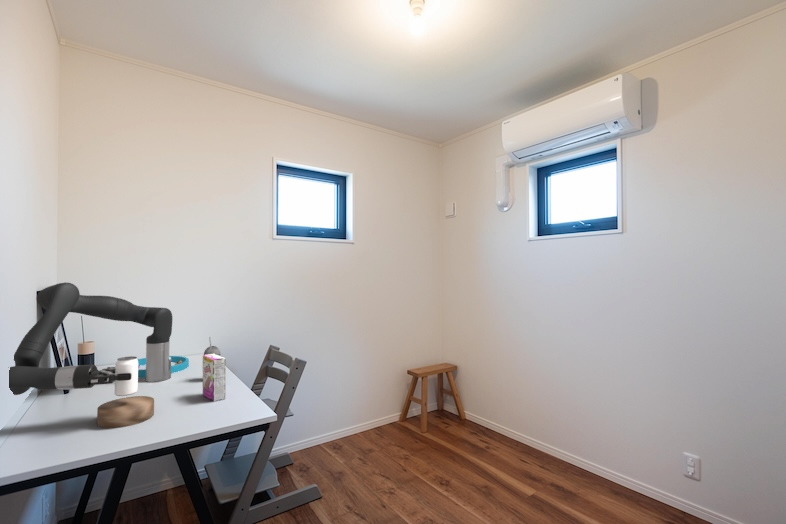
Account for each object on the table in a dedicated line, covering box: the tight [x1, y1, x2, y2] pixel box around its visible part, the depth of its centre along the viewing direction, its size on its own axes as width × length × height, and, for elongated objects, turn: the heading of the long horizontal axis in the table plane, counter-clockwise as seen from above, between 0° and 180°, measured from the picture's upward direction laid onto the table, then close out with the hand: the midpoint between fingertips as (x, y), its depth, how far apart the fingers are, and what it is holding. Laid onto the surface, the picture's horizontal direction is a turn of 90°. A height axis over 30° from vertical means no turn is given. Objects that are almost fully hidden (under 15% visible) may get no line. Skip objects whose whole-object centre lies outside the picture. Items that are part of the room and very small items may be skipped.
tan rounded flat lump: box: [96, 395, 155, 429], centre depth 132 cm, size 16×16×5 cm
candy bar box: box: [202, 354, 226, 402], centre depth 154 cm, size 11×5×16 cm, turn 47°
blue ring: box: [137, 355, 190, 378], centre depth 197 cm, size 30×30×6 cm
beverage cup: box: [203, 336, 221, 356], centre depth 178 cm, size 7×7×20 cm
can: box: [114, 356, 139, 397], centre depth 132 cm, size 6×6×12 cm
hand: (134, 373), depth 133 cm, fingers closed on can, 6 cm apart
